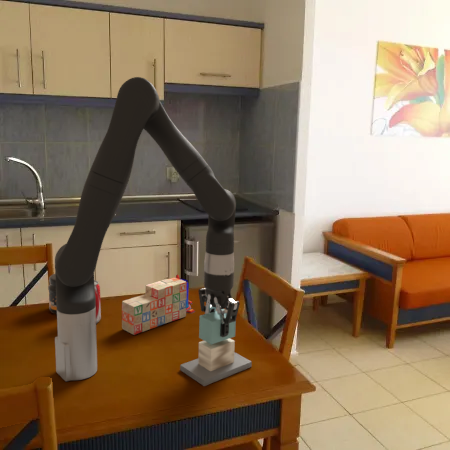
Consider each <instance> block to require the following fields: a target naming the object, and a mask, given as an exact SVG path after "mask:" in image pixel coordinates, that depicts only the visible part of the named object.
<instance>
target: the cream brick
mask: <svg viewBox="0 0 450 450" xmlns="http://www.w3.org/2000/svg"><path fill="white" fill-rule="evenodd" d="M235 342H236V340H234V339H232V338H229V339H226V340H223V341H220V342H217V343H214V344H209V343H208V342H206V341H204V340H202V341H199V342H198V358H199V359H198V358H197V359H198V364H199V365H201V366H203V367H204V368H206V369H207V370H209V371H213V370H215V369H218V368H220V367H223V366H225V365H228V364H231V363H233V362H234V352H235V348H236V347H235V345H236V344H235Z"/></svg>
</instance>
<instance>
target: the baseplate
mask: <svg viewBox="0 0 450 450" xmlns="http://www.w3.org/2000/svg"><path fill="white" fill-rule="evenodd" d="M198 359H199V357H198V358H196V359H192V360H190V361H188V362H184V363H182V364H180V365H179V371H181V372H183V374H186V375H187V376H188V377H189V378H191V379H193V380H194V381H196V382H197V383H199V384H200V385H201V386H203V387H206V386H209V385H210V384H212V383H215V382H218V381H220V380H222V379H226V378H228V377H230V376H233V375H235V374H237V373H240V372H242V371H245V370H247V369H249V368H252V360H249V359H248V358H247V357H244V356H242V355H240V354H239V353H237V352H235V351H234V362H233V363H231V364H228V365H225V366H223V367H220V368H218V369H215V370H213V371H209V370H207V369H206V368H204V367H203V366H201V365H199V364H198Z"/></svg>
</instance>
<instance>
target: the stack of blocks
mask: <svg viewBox="0 0 450 450" xmlns="http://www.w3.org/2000/svg"><path fill="white" fill-rule="evenodd" d="M186 288H187V282H186V281H183V280H180V279H178V278H176V276H174V277H172V278H164V279H162V280H159V281H155V282H153V283H149V284H146V285H145V289H144V290H145V292H144V293H145V294H142V295H139V296H134V297H131V298H129V299H125V300H122V302H121V328H122V329H123V330H124V331H126V332H127V333H130V334H131V335H134V336H135V335H137V334H140V333H143V332H146V331H148V330H151V329H155V328H158V327H159V326H162V325H165V324H167V323H171V322H175V321H177V320H179V319H182V318H185V317H187V313H186V298H187V291H186Z"/></svg>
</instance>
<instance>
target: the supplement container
mask: <svg viewBox="0 0 450 450" xmlns="http://www.w3.org/2000/svg"><path fill="white" fill-rule="evenodd" d="M48 280H49V285H48V286H47V289H48V303H49V304H48V305H49V306H48V308H49V312H51V313H53V314H54V315H57V305H56V277H55V273H52V274H51V275H50V276H49V279H48Z"/></svg>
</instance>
